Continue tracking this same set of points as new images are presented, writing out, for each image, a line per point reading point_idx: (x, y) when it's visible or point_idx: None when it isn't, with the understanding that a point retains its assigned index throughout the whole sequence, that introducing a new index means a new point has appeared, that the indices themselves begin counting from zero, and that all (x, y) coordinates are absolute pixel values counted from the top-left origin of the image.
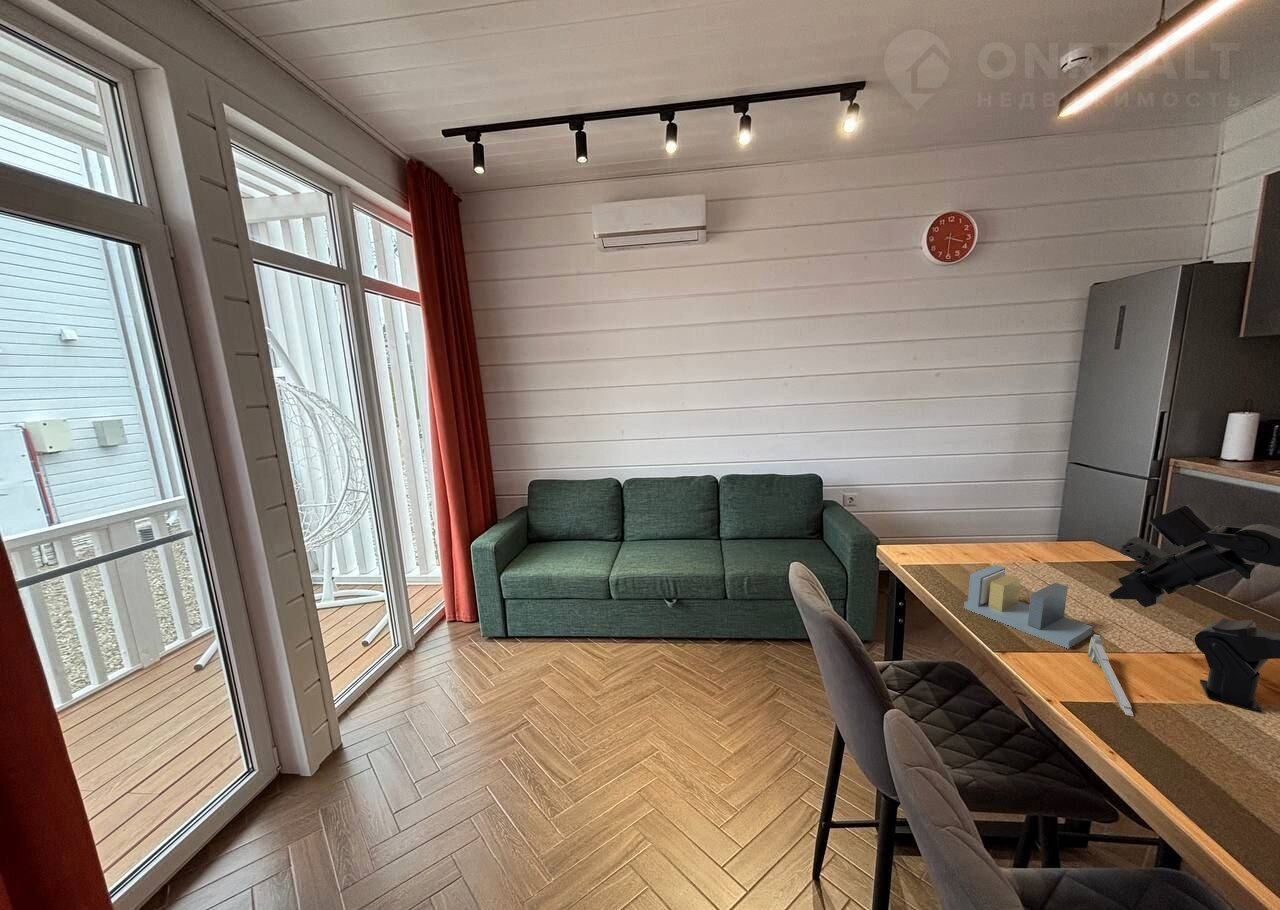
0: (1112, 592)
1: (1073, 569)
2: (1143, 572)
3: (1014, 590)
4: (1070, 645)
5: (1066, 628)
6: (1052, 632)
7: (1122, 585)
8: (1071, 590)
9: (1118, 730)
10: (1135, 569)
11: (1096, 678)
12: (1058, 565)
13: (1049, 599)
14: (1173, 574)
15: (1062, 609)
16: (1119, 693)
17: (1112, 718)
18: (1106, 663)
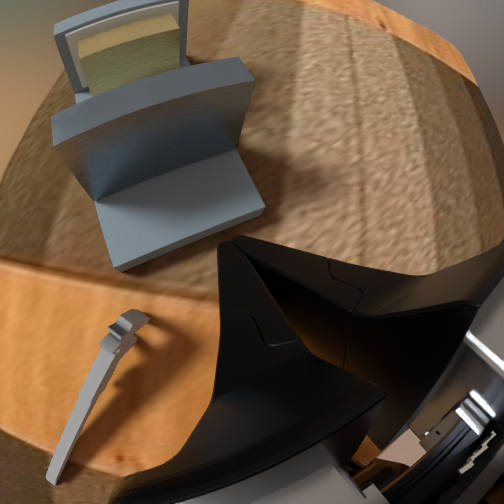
0: (217, 259)
1: (417, 59)
2: (494, 375)
3: (151, 58)
4: (129, 266)
5: (176, 203)
6: (114, 217)
7: (220, 330)
8: (375, 81)
9: (16, 487)
10: (488, 296)
11: (76, 392)
12: (405, 45)
13: (106, 135)
14: None
15: (224, 138)
16: (52, 462)
17: (23, 472)
18: (81, 405)
